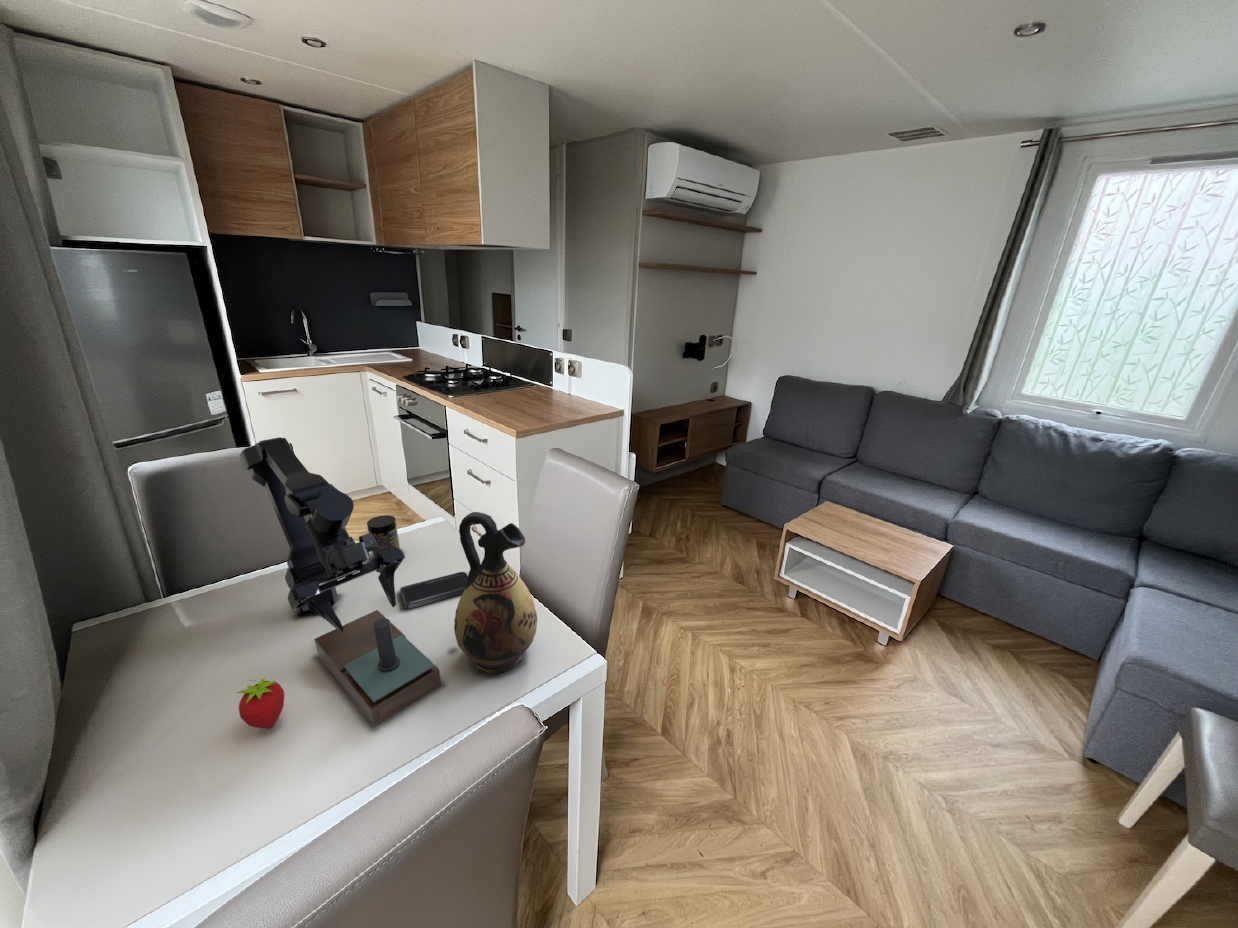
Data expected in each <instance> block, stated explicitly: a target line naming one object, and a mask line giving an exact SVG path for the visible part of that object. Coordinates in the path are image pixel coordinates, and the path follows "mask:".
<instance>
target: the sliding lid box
mask: <svg viewBox="0 0 1238 928" xmlns="http://www.w3.org/2000/svg"><path fill="white" fill-rule="evenodd" d="M383 618H386V619H388V618H387V617H386V616H385V615H384V614H382V613H381V612H380V611H379V610H378V609H376V610H374V611H371V612H369V613H367V614H364V615H363V616H361V617H359V618H356V619H354V620H352V621H350V622H348V623H345V624H344V625H342V626H343V629H344V630H343V631H342V632H340V631H339V630H337V629H336V628H335V629H333V630H331V631H328V632H326V633H324V634H322V635H320V636H317V637H315V638H314V645H315V649H316V652H317V656H318V658H319V659H320V660H321V661H322V663H323V664H324V665H325V667H326V668H327V669H328V670H329V672H330V673H331V674H332V675H333V676H334V678H335V679H336V680H337V681H338V683H339V684H340V685H341V687H342V688H343V689H344V690H345V692H346V693H347V694H348V695H349V697H350V698H351V699H352V700H353V702H354V703H355V704H356V705H357V707H358V708H359V709H360V710H361V711H362V713H363V714H364V715H365V717H366V718H367V719H368V720H369V722H370V723H371V725H372V726H374V727H378V726H379V725H380V724H381V723H383V722H384V721H387V720H388V719H389V718H391V717H393V716H394V715H396V714H398V713H399V712H401V711H402V710H404V709H405V708H407V707H409V706H410V705H412V704H413V703H415V702H417V701H418V700H420V699H421V698H424V697H425V696H426V695H428V694H429V693H430V692H432V691H435V690H436V689H437V688H439V687H440V686H442V681H441V673H440V668H439V667H438V666H437V665H436V664H435V666H434V667H433V668H431V669H429V670H428V671H426V672H424V673H423V674H421V675H419V676H418V677H416V678H414V679H412V680H411V681H409V682H407V683H406V684H404V685H402V686H401V687H399V688H397V689H396V690H394V691H392V692H391V693H389V694H387V695H386V696H384V697H382V698H380V699H379V700H377V701H375V702H373V701H372V700H371V699H370V698H369V696H368V695H367V694H366V693H365V692H364V691H363V689H362V688H361V687H360V686H359V685H358V683H357V682H356V681H355V680H354V679H353V677H352V676H351V675H350V674H349V673H348V672H347V670H346V669H345V668H344V665H345V664H347V663H349V662H351V661H353V660H355V659H357V658H359V657H361V656H363V655H365V654H367V653H369V652H371V651H372V650H374V649H376V648H377V643H376V638H375V632H374V627H373V624H374V623H375V622H376V621H377V620H379V619H383ZM390 624H391V630H392V636H393V640H394V639H396V638H398V637H399V636H401V635H403V636H404V637H405V638H407V636H406V635H405V634H404V633H403V632H402V631H401V630H400V629H398V628H397V627H396V625H394V624H393V623H392V622H391V621H390Z"/></svg>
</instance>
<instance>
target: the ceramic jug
mask: <svg viewBox="0 0 1238 928" xmlns="http://www.w3.org/2000/svg"><path fill="white" fill-rule="evenodd" d="M477 525H481V526H482V528H483V529H484V531H485V533H484V534H482V535H481V536H480V538H479V539H478V540H477V546H479V548H483V550H484V556H483V559H482V561H481V559H480V557H479V556H480V555H479V553H478V551H477V549H476V546H475V542H474V539H473V536H472V533H471V528H472V526H477ZM458 532H459V540H460V541H459V542H460V544H461V546H462V550H463V552H464V554H465V555H464V556H465V558H466V560H467V563H468V565H469V571H468V574H467V576H468V579H467V585H466V588H465V590H464V592H463V594H461V595H460V596H461V597H460V598H459V600H458V603H457V607H456V609H455V615H454V625H453V630H454V636H455V640H456V643H457V646H458V648H459V649H460V650H461V652H463V654H465V656H466V657H468V658H469V659H470V660H471V661H472V662H473V664H474V666H476V668H477V669H479V670H480V671H483V672H485V673H489V674H492V675H500V674H503V673H505V672H507V671H509V670H512V669H514V668H516V667H517V666H518V665H520V663H522V657H523V654H524V653H525V652H526V651H527V650H528V649H529V647H530V646H531V645H532V644H533V642H534V640H535V639H534V638H535V636H536V633H537V628H538V614H537V609H536V605H535V602H534V598H533V596H532V594H531V592H530V589H529V587H528V586H527V585H526V584H525V582H524V580H522V578H521V577H520V575H519V574H518V573H517V572H516V570H515V569H514V568H512V567H511V566H510V564H509V563H508V562H507V561H506V559H505V557H504V553H505V552H506V551H508V550H511V549H517V548H521V547H523V546H524V545H525V544H526V538H525V536H524V534H523V532H522V531H521V530H520V528H519V527H518V526H517V525H515V524H514V523H512V522H511V523H508V524H506V525H505V526H503V527H502V528H500V529H499V530H498V526H497V523H496V521H495V520H494V519H493V517H492V516H491V515H489V514H487V513H484V512H479V511H472V512H470V513H468V514H467V515H466V516H464V517H463V518H462V519H461V522H460V524H459V528H458Z"/></svg>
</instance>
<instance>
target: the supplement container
mask: <svg viewBox="0 0 1238 928" xmlns="http://www.w3.org/2000/svg"><path fill="white" fill-rule="evenodd" d="M397 524H398V523H397V519H396V517H395V516H393V515H388V514H385V515H383V514H382V515H378V516H374V517H372V518H370V519H369V520H368V521H367V522H366V527H367V531H368V533H372V535H373V537H374V538H375V540H376V543H377V546H378V548H377V549H376V550H373V551H371V555H372V559H373V560H374V559H375V558H376V556H377V554H378V553H379V552H382V551H385V550H387V549H390V548H393V547H395V546H396V547H398V548H400V549H401V545H400V539H399V533H398V526H397Z"/></svg>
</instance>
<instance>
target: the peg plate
mask: <svg viewBox="0 0 1238 928" xmlns="http://www.w3.org/2000/svg"><path fill="white" fill-rule="evenodd" d="M386 618H387V617H386ZM386 618H383V619H379V620H377V621H376V622H375V623H374V624H373V627H374V632H375V638H376V643H377V648H376V649H374V650H372V651H371V652H369V653H367V654H365V655H363V656H361V657H359V658H357V659H355V660H353V661H351V662H349V663H347V664H345V665H344V668H345V669H346V670H347V672H348V673H349V674H350V675H351V676H352V677H353V679H354V680H355V681H356V682H357V683H358V685H359V686H360V687H361V688H362V689H363V691H364V692H365V693H366V694H367V695H368V696H369V698H370V699H371V700H372V701H373V702H375V701H377V700H379V699H380V698H382V697H384V696H386V695H387V694H389V693H391V692H392V691H394V690H396V689H397V688H399V687H401V686H402V685H404V684H406V683H407V682H409V681H411V680H412V679H414V678H416V677H418V676H419V675H421V674H423V673H424V672H426V671H428V670H429V669H431V668H433V667H434V666H435V665H436V663H434V662H432V660H431V659H429V658H428V657H427V656H426V655H425V654H424V653H423V652H422V651H421V650H419V649H418V647H416V646H415V644H413V643H412V642H411V641H410V640H409V639H408V638H407V637H406V638H405V637H404V636H403V635H401V636H399V637H398V638H396V639H394V640H393V636H392V630H391V624H390V622H391V620H390V619H389V618H387V619H386Z"/></svg>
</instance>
